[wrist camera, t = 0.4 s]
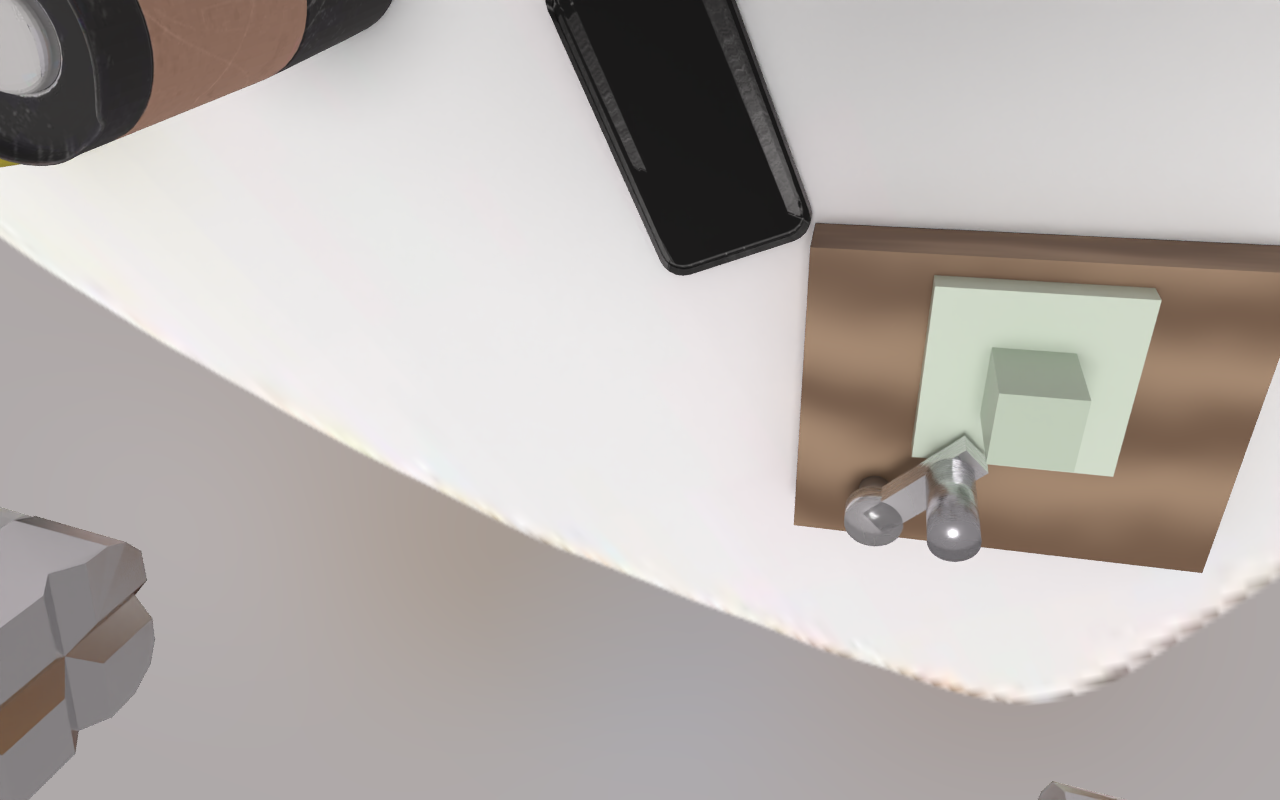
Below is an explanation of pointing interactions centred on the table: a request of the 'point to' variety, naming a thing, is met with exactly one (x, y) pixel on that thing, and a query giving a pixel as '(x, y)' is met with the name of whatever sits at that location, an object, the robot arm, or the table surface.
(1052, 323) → the cover
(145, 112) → the travel mug
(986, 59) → the table surface
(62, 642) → the robot arm
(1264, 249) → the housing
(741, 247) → the phone
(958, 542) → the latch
